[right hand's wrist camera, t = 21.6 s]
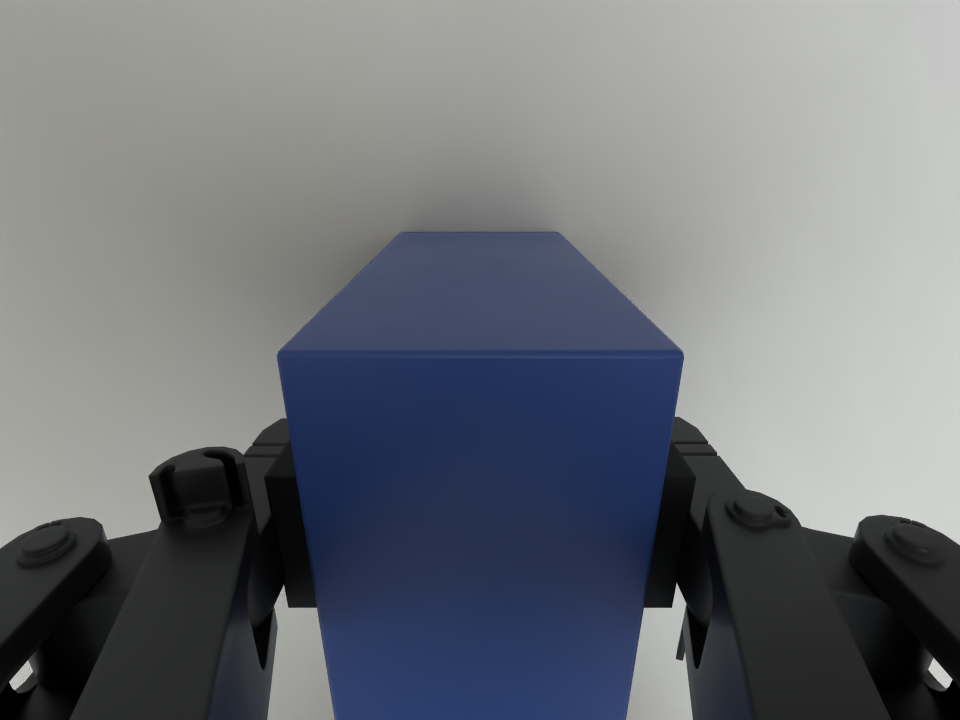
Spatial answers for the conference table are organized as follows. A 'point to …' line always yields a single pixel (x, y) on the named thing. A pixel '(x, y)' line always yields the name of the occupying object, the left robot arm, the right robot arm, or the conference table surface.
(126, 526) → the conference table surface
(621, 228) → the conference table surface
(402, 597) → the brick
